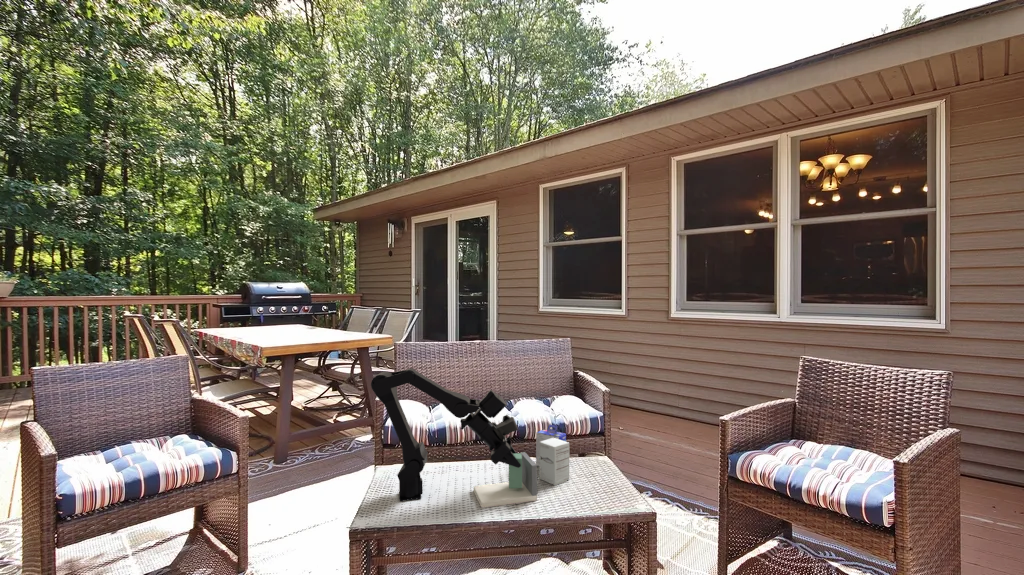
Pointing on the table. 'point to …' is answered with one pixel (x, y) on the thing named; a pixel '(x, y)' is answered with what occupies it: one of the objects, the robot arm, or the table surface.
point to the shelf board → (506, 495)
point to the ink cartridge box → (546, 435)
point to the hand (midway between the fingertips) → (519, 463)
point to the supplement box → (554, 461)
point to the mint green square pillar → (516, 473)
